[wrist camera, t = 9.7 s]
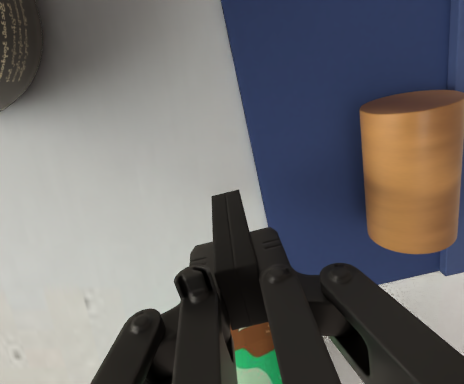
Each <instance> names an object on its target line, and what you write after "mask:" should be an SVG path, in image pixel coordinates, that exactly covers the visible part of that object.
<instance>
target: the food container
mask: <svg viewBox="0 0 464 384" xmlns="http://www.w3.org/2000/svg"><path fill="white" fill-rule="evenodd" d="M230 330H231V335H232V338H233V341H234V349H235V359H236V370H237V380H238V384H282V379H281V375H280V371H279V366H278V362H277V357H276V353H275V349H274V344H273V340H272V335H271V331H270V327H269V322H266V323H262V324H257V325H253V326H249V327H245V328H240V329H236V330H232V328H231V325H230Z"/></svg>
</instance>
